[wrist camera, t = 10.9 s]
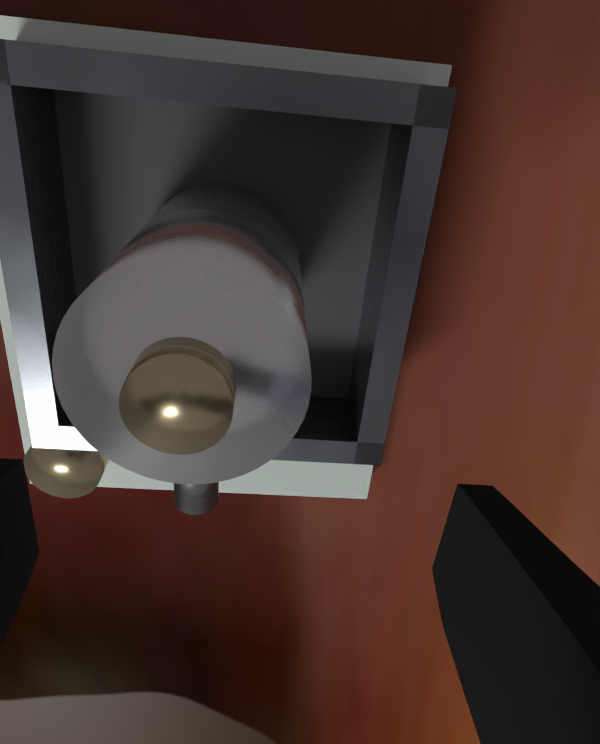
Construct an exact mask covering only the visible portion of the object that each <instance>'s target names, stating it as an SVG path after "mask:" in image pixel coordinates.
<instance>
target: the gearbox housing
mask: <svg viewBox="0 0 600 744" xmlns="http://www.w3.org/2000/svg"><path fill="white" fill-rule="evenodd" d="M451 69H452V65H446V64H437V63H428V62H419V61H410V60H401V59H392V58H383V57H374V56H365V55H356V54H347V53H338V52H329V51H320V50H310V49H301V48H292V47H283V46H274V45H265V44H256V43H247V42H238V41H229V40H220V39H211V38H202V37H193V36H184V35H175V34H166V33H157V32H148V31H139V30H129V29H120V28H111V27H102V26H93V25H84V24H75V23H66V22H57V21H48V20H39V19H30V18H21V17H12V16H3V15H0V320H1V325H2V331H3V336H4V342H5V347H6V353H7V358H8V364H9V369H10V375H11V380H12V386H13V392H14V397H15V403H16V408H17V414H18V419H19V425H20V430H21V436H22V441H23V447H24V452H25V457H24V468H25V473H26V475H27V477H28V478H29V480H30V484H34V485H35V486H36V487H37V488H39V489H40V490H42V491H43V492H45V493H47V494H50V495H53V496H56V497H61V498H77V497H81V496H84V495H87V494H89V493H90V492H92V491H93V490H94V489H95V488H96V487H115V488H137V489H159V490H174V483H169V482H164V481H159V480H154V479H151V478H148V477H145V476H141V475H139V474H136V473H134V472H132V471H129V470H127V469H125V468H123V467H121V466H119V465H118V464H116V463H114V462H112V461H111V460H109V459H108V458H106V457H105V456H103V455H102V454H101V453H99V452H98V451H97V450H96V449H95V448H94V447H92V446H91V445H90V444H89V443H88V442H87V441H86V440H85V439H84V438H83V437H82V436H81V434H80V433H79V432H78V431H77V430H76V428H75V427H74V426H73V424H72V423H71V421H70V420H69V419H68V417H67V415H66V413H65V411H64V409H63V407H62V405H61V403H60V400H59V397H58V395H57V392H56V388H55V384H54V379H53V370H52V355H53V346H54V342H55V338H56V334H57V331H58V328H59V326H60V324H61V321H62V319H63V317H64V316H65V314H66V313H67V311H68V309H69V308H70V306H71V305H72V304H73V302H74V301H75V300H76V299H77V298H78V297H79V296H80V295H81V294H82V292H83V291H84V290H85V289H86V288H87V287H88V286H89V285H90V284H91V283H92V282H93V281H94V280H95V278H96V277H97V276H98V275H99V274H100V273H101V272H102V271H103V270H104V269H105V268H106V267H107V266H108V264H109V263H110V262H111V261H112V260H113V259H114V258H115V257H116V256H117V255H118V254H119V253H120V252H121V250H122V249H123V248H124V247H125V246H126V245H127V244H128V243H129V242H130V241H131V240H132V239H133V238H134V236H135V235H136V234H137V233H138V232H139V231H140V230H141V229H142V228H143V227H144V226H145V225H146V224H147V222H148V221H149V220H150V219H151V218H152V217H153V216H154V215H155V214H156V213H157V212H158V211H159V210H160V208H161V207H162V206H163V205H164V204H165V203H166V202H167V201H169V200H170V199H171V198H172V197H173V196H175V195H177V194H178V193H180V192H182V191H184V190H186V189H188V188H191V187H194V186H197V185H201V184H208V183H227V184H234V185H238V186H241V187H245V188H247V189H249V190H252V191H254V192H256V193H258V194H259V195H261V196H263V197H264V198H266V199H267V200H268V201H269V202H271V203H272V204H273V205H274V206H275V207H276V208H277V209H278V210H279V211H280V212H281V213H282V215H283V216H284V218H285V219H286V220H287V222H288V224H289V225H290V227H291V229H292V231H293V234H294V236H295V239H296V242H297V246H298V251H299V260H300V270H301V279H302V289H303V299H304V309H305V318H306V328H307V338H308V347H309V357H310V367H311V377H312V380H311V395H310V400H309V406H308V409H307V412H306V414H305V417H304V420H303V422H302V424H301V426H300V427H299V429H298V431H297V433H296V434H295V435H294V437H293V438H292V440H291V441H290V442H289V443H288V445H287V446H286V447H285V448H284V449H283V450H282V451H281V452H280V453H279V454H277V455H276V456H275V457H274V458H273V459H271V460H270V461H269V462H267V463H266V464H264V465H262V466H261V467H259V468H257V469H256V470H253V471H251V472H249V473H247V474H245V475H242V476H239V477H236V478H233V479H230V480H226V481H221V482H219V492H225V493H246V494H268V495H290V496H312V497H334V498H356V499H367V495H368V490H369V485H370V480H371V475H372V469H373V465H380V464H381V459H382V454H383V449H384V444H385V439H386V435H387V430H388V425H389V420H390V415H391V410H392V405H393V400H394V395H395V391H396V386H397V381H398V376H399V371H400V366H401V361H402V356H403V351H404V347H405V342H406V337H407V332H408V327H409V322H410V317H411V312H412V307H413V303H414V298H415V293H416V288H417V283H418V278H419V273H420V268H421V263H422V259H423V254H424V249H425V244H426V239H427V234H428V229H429V224H430V220H431V215H432V210H433V205H434V200H435V195H436V190H437V185H438V180H439V176H440V171H441V166H442V161H443V156H444V151H445V146H446V141H447V136H448V132H449V127H450V122H451V117H452V112H453V107H454V102H455V97H456V92H457V88H454V87H448V84H449V79H450V74H451Z"/></svg>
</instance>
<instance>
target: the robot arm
mask: <svg viewBox="0 0 600 744" xmlns="http://www.w3.org/2000/svg"><path fill="white" fill-rule="evenodd" d="M38 554H39V548H38V542H37V537H36V531H35V525H34V520H33V514H32V508H31V502H30V497H29V491H28V485H27V480H26V474H25V468H24V463H23V460H20V459H2V458H0V645H1V644H2V642H3V640H4V638H5V636H6V634H7V632H8V630H9V628H10V626H11V624H12V622H13V620H14V618H15V615H16V613H17V611H18V609H19V606H20V603H21V601H22V598H23V596H24V593H25V590H26V588H27V585H28V582H29V579H30V577H31V574H32V571H33V568H34V565H35V562H36V559H37V557H38ZM432 571H433V577H434V582H435V588H436V593H437V599H438V604H439V609H440V613H441V618H442V623H443V628H444V631H445V634H446V637H447V641H448V644H449V647H450V650H451V653H452V656H453V660H454V663H455V666H456V669H457V672H458V675H459V678H460V681H461V685H462V688H463V691H464V694H465V697H466V700H467V703H468V706H469V709H470V712H471V715H472V718H473V721H474V724H475V728H476V731H477V734H478V737H479V740H480V743H481V744H600V587H599V586H598V585H597V584H596V583H595V582H594V581H593V580H592V579H591V578H590V577H588V576H587V575H586V574H585V573H584V572H583V571H582V570H581V569H580V568H579V567H578V566H577V565H576V564H575V563H573V562H572V561H571V560H570V559H569V558H568V557H567V556H566V555H565V554H564V553H563V552H562V551H561V550H560V549H559V548H558V547H556V546H555V545H554V544H553V543H552V542H551V541H550V540H549V539H548V538H547V537H546V536H545V535H544V534H543V533H542V532H541V531H540V530H539V529H538V528H537V527H536V526H535V525H534V524H533V523H532V522H530V521H529V520H528V519H527V518H526V517H525V516H524V515H523V514H522V513H521V512H520V511H519V510H518V509H517V508H516V507H515V506H514V505H513V504H512V503H511V502H510V501H508V500H507V499H506V498H505V497H504V496H503V495H502V494H501V493H500V492H499V491H497V490H496V489H495V488H494V487H493V486H487V485H469V484H457V487H456V491H455V494H454V497H453V501H452V504H451V507H450V511H449V514H448V517H447V521H446V524H445V527H444V531H443V534H442V537H441V541H440V544H439V547H438V551H437V554H436V557H435V561H434V564H433V567H432Z"/></svg>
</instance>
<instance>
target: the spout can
mask: <svg viewBox="0 0 600 744" xmlns="http://www.w3.org/2000/svg"><path fill="white" fill-rule="evenodd" d="M52 370H53V379H54V384H55V388H56V392H57V395H58V397H59V400H60V403H61V405H62V407H63V409H64V411H65V413H66V415H67V417H68V419H69V420H70V421H71V423H72V424H73V426H74V427H75V428H76V430H77V431H78V432H79V433H80V434H81V436H82V437H83V438H84V439H85V440H86V441H87V442H88V443H89V444H90V445H91V446H92V447H94V448H95V449H96V450H97V451H98V452H99V453H101V454H102V455H103V456H105V457H106V458H108V459H109V460H111V461H112V462H114V463H116V464H118V465H119V466H121V467H123V468H125V469H127V470H129V471H132V472H134V473H136V474H139V475H141V476H145V477H148V478H151V479H154V480H159V481H164V482H169V483H174V503H175V506H176V507H177V508H178V509H179V510H180V511H181V512H183V513H186V514H191V515H198V514H204V513H207V512H209V511H211V510H212V509H213V508H214V507H215V506H216V505H217V503H218V495H219V482H221V481H226V480H230V479H233V478H236V477H239V476H242V475H245V474H247V473H249V472H251V471H253V470H256V469H257V468H259V467H261V466H262V465H264V464H266V463H267V462H269V461H270V460H271V459H273V458H274V457H275V456H276V455H277V454H279V453H280V452H281V451H282V450H283V449H284V448H285V447H286V446H287V445H288V443H289V442H290V441H291V440H292V438H293V437H294V435H295V434H296V433H297V431H298V429H299V427H300V426H301V424H302V422H303V420H304V417H305V414H306V412H307V409H308V406H309V400H310V395H311V380H312V377H311V367H310V357H309V347H308V338H307V328H306V318H305V309H304V299H303V289H302V279H301V270H300V260H299V251H298V246H297V242H296V239H295V236H294V234H293V231H292V229H291V227H290V225H289V224H288V222H287V220H286V219H285V218H284V216H283V215H282V213H281V212H280V211H279V210H278V209H277V208H276V207H275V206H274V205H273V204H272V203H271V202H269V201H268V200H267V199H266V198H264V197H263V196H261V195H259V194H258V193H256V192H254V191H252V190H249V189H247V188H245V187H241V186H238V185H234V184H227V183H208V184H201V185H197V186H194V187H191V188H188V189H186V190H184V191H182V192H180V193H178V194H177V195H175V196H173V197H172V198H171V199H170V200H169V201H167V202H166V203H165V204H164V205H163V206H162V207H161V208H160V210H159V211H158V212H157V213H156V214H155V215H154V216H153V217H152V218H151V219H150V220H149V221H148V222H147V224H146V225H145V226H144V227H143V228H142V229H141V230H140V231H139V232H138V233H137V234H136V235H135V236H134V238H133V239H132V240H131V241H130V242H129V243H128V244H127V245H126V246H125V247H124V248H123V249H122V250H121V252H120V253H119V254H118V255H117V256H116V257H115V258H114V259H113V260H112V261H111V262H110V263H109V264H108V266H107V267H106V268H105V269H104V270H103V271H102V272H101V273H100V274H99V275H98V276H97V277H96V278H95V280H94V281H93V282H92V283H91V284H90V285H89V286H88V287H87V288H86V289H85V290H84V291H83V292H82V294H81V295H80V296H79V297H78V298H77V299H76V300H75V301H74V302H73V304H72V305H71V306H70V308H69V309H68V311H67V313H66V314H65V316H64V317H63V319H62V321H61V324H60V326H59V328H58V331H57V334H56V338H55V342H54V346H53V355H52Z"/></svg>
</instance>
